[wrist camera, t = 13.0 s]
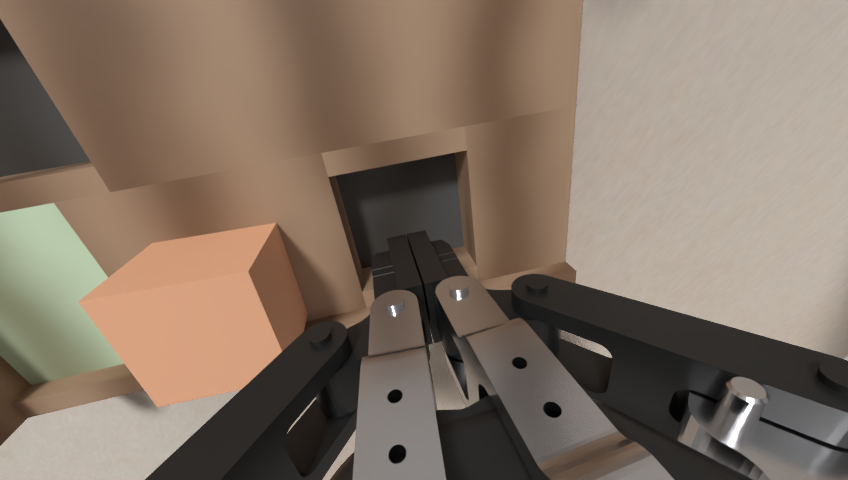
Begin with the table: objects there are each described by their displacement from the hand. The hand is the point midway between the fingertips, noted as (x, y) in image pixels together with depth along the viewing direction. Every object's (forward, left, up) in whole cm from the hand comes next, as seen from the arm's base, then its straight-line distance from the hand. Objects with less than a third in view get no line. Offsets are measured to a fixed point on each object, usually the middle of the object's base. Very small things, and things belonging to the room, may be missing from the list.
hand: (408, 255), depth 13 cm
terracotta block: (+8, +1, -3) cm, 8 cm away
